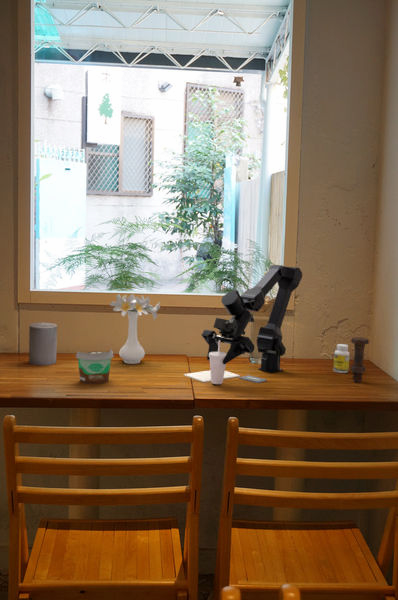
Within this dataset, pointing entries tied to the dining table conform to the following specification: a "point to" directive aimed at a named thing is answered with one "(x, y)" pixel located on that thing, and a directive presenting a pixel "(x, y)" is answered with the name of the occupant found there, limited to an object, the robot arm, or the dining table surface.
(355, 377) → the bolt
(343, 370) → the supplement bottle
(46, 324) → the pillar candle
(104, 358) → the food container
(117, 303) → the flower vase
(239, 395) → the dining table surface
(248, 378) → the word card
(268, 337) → the robot arm
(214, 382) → the smoothie
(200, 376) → the paper
